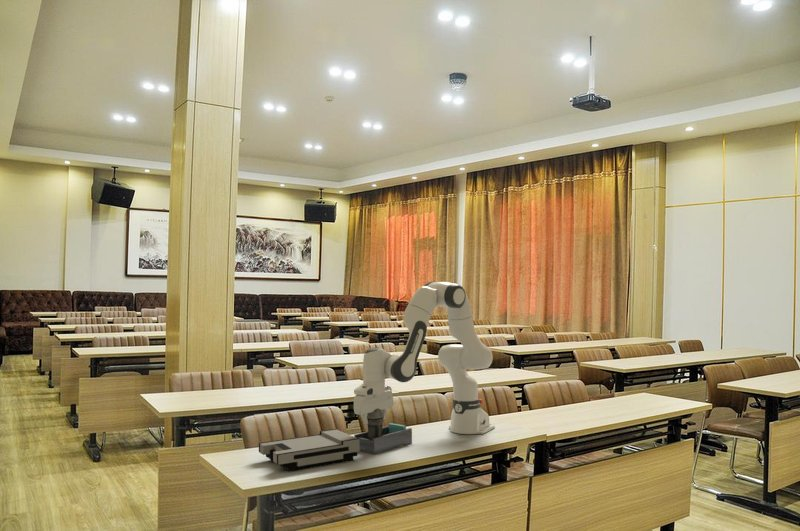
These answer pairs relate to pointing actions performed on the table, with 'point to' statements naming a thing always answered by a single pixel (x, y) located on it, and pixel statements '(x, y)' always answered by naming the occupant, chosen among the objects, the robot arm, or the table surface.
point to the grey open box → (384, 440)
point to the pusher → (396, 427)
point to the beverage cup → (375, 423)
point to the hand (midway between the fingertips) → (374, 422)
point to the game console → (311, 450)
